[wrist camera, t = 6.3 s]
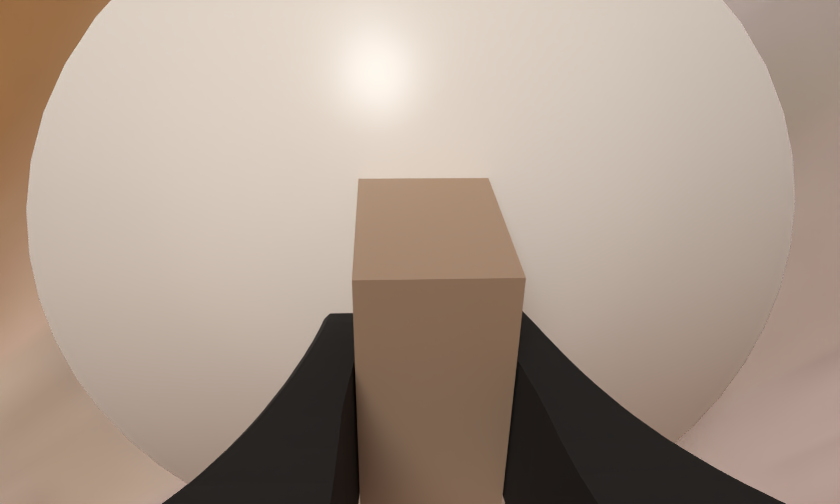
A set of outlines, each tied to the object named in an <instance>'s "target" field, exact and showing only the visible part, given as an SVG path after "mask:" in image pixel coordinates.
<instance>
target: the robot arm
mask: <svg viewBox="0 0 840 504" xmlns="http://www.w3.org/2000/svg"><path fill="white" fill-rule="evenodd" d="M359 496H360V485H359V458H358V432H357V405H356V379H355V352H354V326H353V313H330V314H329V315H328V316H327V317H326V318H324V320H323V322H322V325H321V327H320V329H319V331H318V332H317V334H316V336H315V338H314V340H313V341H312V343H311V345H310V346H309V348H308V350H307V351H306V353H305V355H304V356H303V358H302V359H301V360H300V362H299V363H298V365H297V366H296V368H295V369H294V371H293V372H292V374H291V375H290V377H289V378H288V379H287V381H286V382H285V384H284V385H283V386H282V387H281V389H280V390H279V391H278V392H277V394H276V395H275V396H274V397H273V399H272V400H271V401H270V403H269V404H268V405H267V406H266V408H265V409H264V410H263V411H262V412H261V414H260V415H259V416H258V417H257V418H256V419H255V420H254V422H253V423H252V424H251V425H250V426H249V427H248V428H247V429H246V430H245V431H244V432H243V433H242V434H241V435H240V437H239V438H238V439H237V440H236V441H235V442H234V443H233V444H232V445H231V446H230V447H229V448H228V449H227V450H226V451H224V452H223V453H222V454H221V455H220V456H219V457H218V458H217V459H216V460H215V461H214V462H212V463H211V464H210V465H209V466H208V467H207V468H206V469H205V470H204V471H203V472H201V473H200V474H199V475H198V476H197V477H196V478H194V479H193V480H192V481H191V482H190V483H188V484H187V485H186V486H185V487H184V488H182V489H181V490H180V491H178V492H177V493H176V494H174V495H173V496H172V497H170V498H169V499H168V500H166V501H165V502H164V503H162V504H359ZM503 498H504V502H505V504H785V503H783V502H781V501H779V500H777V499H775V498H773V497H771V496H769V495H767V494H765V493H763V492H761V491H759V490H757V489H755V488H752V487H750V486H748V485H746V484H744V483H742V482H740V481H739V480H737V479H735V478H733V477H731V476H729V475H727V474H725V473H724V472H722V471H720V470H718V469H716V468H714V467H713V466H711V465H709V464H708V463H706V462H704V461H703V460H701V459H699V458H698V457H696V456H694V455H693V454H691V453H689V452H687V451H686V450H684V449H682V448H681V447H679V446H678V445H676V444H675V443H673V442H672V441H670V440H668V439H667V438H665V437H664V436H662V435H661V434H660V433H658V432H657V431H655V430H654V429H652V428H651V427H650V426H648V425H647V424H645V423H644V422H643V421H641V420H640V419H638V418H637V417H636V416H634V415H633V414H632V413H630V412H629V411H628V410H626V409H625V408H624V407H622V406H621V405H620V404H619V403H618V402H616V401H615V400H614V399H613V398H612V397H610V396H609V395H608V394H607V393H606V392H604V391H603V390H602V389H601V388H600V387H599V386H597V385H596V384H595V383H594V382H593V381H592V380H591V379H589V378H588V377H587V376H586V375H585V374H584V373H583V372H582V371H581V370H580V369H579V368H578V367H577V366H576V365H575V364H574V363H572V362H571V361H570V360H569V359H568V358H567V357H566V356H565V355H564V354H563V353H562V352H561V351H560V350H559V349H558V348H557V346H556V345H555V344H554V343H553V342H552V341H551V340H550V339H549V338H548V337H547V336H546V335H545V334H544V333H543V332H542V331H541V330H540V329H539V328H538V326H537V325H536V324H535V323H534V322H533V321H532V320H531V319H530V318H529V317H528V316H527V315H526V314H525V313H524V312H523V311H522V319H521V329H520V338H519V347H518V356H517V366H516V375H515V384H514V393H513V403H512V412H511V421H510V431H509V440H508V449H507V458H506V468H505V477H504V486H503Z"/></svg>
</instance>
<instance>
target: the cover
mask: <svg viewBox="0 0 840 504" xmlns="http://www.w3.org/2000/svg"><path fill="white" fill-rule="evenodd" d="M794 208H795V191H794V170H793V156H792V151H791V146H790V141H789V136H788V131H787V126H786V121H785V117H784V112H783V109H782V107H781V104H780V101H779V99H778V96H777V93H776V91H775V88H774V85H773V83H772V80H771V77H770V75H769V72H768V69H767V67H766V65H765V63H764V61H763V60H762V58H761V56H760V55H759V53H758V51H757V49H756V48H755V46H754V44H753V42H752V41H751V39H750V37H749V35H748V34H747V32H746V30H745V29H744V27H743V25H742V23H741V22H740V21H739V19H738V18H737V17H736V16H735V14H734V13H733V12H732V11H731V10H730V8H729V7H728V6H727V5H726V3H725V2H724V1H723V0H111V1H110V2H109V3H108V4H107V6H106V7H105V8H104V9H103V10H102V11H101V12H100V13H99V14H98V15H97V16H96V18H95V19H94V21H93V22H92V24H91V25H90V27H89V28H88V30H87V31H86V33H85V34H84V36H83V37H82V39H81V40H80V42H79V43H78V45H77V47H76V48H75V50H74V51H73V53H72V54H71V56H70V57H69V59H68V60H67V62H66V63H65V65H64V67H63V70H62V72H61V74H60V76H59V79H58V81H57V83H56V85H55V88H54V90H53V92H52V94H51V97H50V99H49V101H48V103H47V106H46V108H45V110H44V113H43V116H42V120H41V124H40V128H39V132H38V136H37V139H36V143H35V147H34V151H33V155H32V159H31V165H30V176H29V187H28V197H27V208H26V211H27V226H28V241H29V256H30V260H31V264H32V269H33V273H34V278H35V282H36V287H37V291H38V296H39V300H40V302H41V305H42V308H43V310H44V313H45V315H46V318H47V321H48V323H49V326H50V328H51V331H52V334H53V336H54V339H55V341H56V343H57V344H58V346H59V348H60V350H61V352H62V353H63V355H64V357H65V359H66V361H67V362H68V364H69V366H70V368H71V370H72V371H73V373H74V375H75V377H76V378H77V380H78V381H79V382H80V384H81V385H82V386H83V388H84V389H85V390H86V392H87V393H88V394H89V396H90V397H91V398H92V400H93V401H94V402H95V404H96V405H97V406H98V408H99V409H100V410H101V412H102V413H103V414H104V415H105V416H106V417H107V418H108V419H109V420H110V421H111V422H112V423H113V424H114V425H115V426H116V427H117V428H118V429H119V430H120V431H121V432H122V433H123V435H124V436H125V437H126V438H127V439H128V440H129V441H131V442H132V443H133V444H134V445H135V446H137V447H138V448H139V449H140V450H142V451H143V452H144V453H145V454H146V455H148V456H149V457H150V458H151V459H152V460H154V461H155V462H156V463H157V464H158V465H160V466H161V467H163V468H164V469H166V470H167V471H169V472H170V473H172V474H173V475H175V476H177V477H178V478H180V479H181V480H183V481H184V482H186V483H187V484H188V483H190V482H191V481H192V480H193V479H194V478H196V477H197V476H198V475H199V474H200V473H201V472H203V471H204V470H205V469H206V468H207V467H208V466H209V465H210V464H211V463H212V462H214V461H215V460H216V459H217V458H218V457H219V456H220V455H221V454H222V453H223V452H224V451H226V450H227V449H228V448H229V447H230V446H231V445H232V444H233V443H234V442H235V441H236V440H237V439H238V438H239V437H240V435H241V434H242V433H243V432H244V431H245V430H246V429H247V428H248V427H249V426H250V425H251V424H252V423H253V422H254V420H255V419H256V418H257V417H258V416H259V415H260V414H261V412H262V411H263V410H264V409H265V408H266V406H267V405H268V404H269V403H270V401H271V400H272V399H273V397H274V396H275V395H276V394H277V392H278V391H279V390H280V389H281V387H282V386H283V385H284V384H285V382H286V381H287V379H288V378H289V377H290V375H291V374H292V372H293V371H294V369H295V368H296V366H297V365H298V363H299V362H300V360H301V359H302V358H303V356H304V355H305V353H306V351H307V350H308V348H309V346H310V345H311V343H312V341H313V340H314V338H315V336H316V334H317V332H318V331H319V329H320V327H321V325H322V322H323V320H324V318H326V317H327V316H328V315H329V314H330V313H353V326H354V352H355V379H356V405H357V432H358V458H359V485H360V496H359V504H505V502H504V498H503V486H504V477H505V468H506V458H507V449H508V440H509V431H510V421H511V412H512V403H513V393H514V384H515V375H516V366H517V356H518V347H519V338H520V329H521V319H522V311H523V312H524V313H525V314H526V315H527V316H528V317H529V318H530V319H531V320H532V321H533V322H534V323H535V324H536V325H537V326H538V328H539V329H540V330H541V331H542V332H543V333H544V334H545V335H546V336H547V337H548V338H549V339H550V340H551V341H552V342H553V343H554V344H555V345H556V346H557V348H558V349H559V350H560V351H561V352H562V353H563V354H564V355H565V356H566V357H567V358H568V359H569V360H570V361H571V362H572V363H574V364H575V365H576V366H577V367H578V368H579V369H580V370H581V371H582V372H583V373H584V374H585V375H586V376H587V377H588V378H589V379H591V380H592V381H593V382H594V383H595V384H596V385H597V386H599V387H600V388H601V389H602V390H603V391H604V392H606V393H607V394H608V395H609V396H610V397H612V398H613V399H614V400H615V401H616V402H618V403H619V404H620V405H621V406H622V407H624V408H625V409H626V410H628V411H629V412H630V413H632V414H633V415H634V416H636V417H637V418H638V419H640V420H641V421H643V422H644V423H645V424H647V425H648V426H650V427H651V428H652V429H654V430H655V431H657V432H658V433H660V434H661V435H662V436H664V437H665V438H667V439H668V440H670V441H672V442H673V443H675V442H676V441H677V440H678V439H679V438H680V437H681V436H682V435H684V434H685V433H686V432H687V431H688V430H689V429H690V428H691V427H693V426H694V425H695V424H696V423H697V422H698V420H699V419H700V418H701V417H702V416H703V415H704V414H705V413H706V412H707V410H708V409H709V408H710V407H711V406H712V405H713V404H714V403H715V402H716V401H717V399H718V398H719V397H720V396H721V395H722V394H723V392H724V391H725V390H726V388H727V387H728V385H729V384H730V383H731V381H732V380H733V378H734V377H735V376H736V374H737V373H738V371H739V370H740V369H741V367H742V366H743V365H744V363H745V362H746V360H747V358H748V356H749V354H750V353H751V351H752V349H753V347H754V345H755V343H756V342H757V340H758V338H759V336H760V334H761V333H762V331H763V329H764V327H765V325H766V322H767V320H768V317H769V315H770V312H771V310H772V307H773V305H774V302H775V300H776V297H777V295H778V292H779V290H780V287H781V283H782V279H783V275H784V271H785V267H786V263H787V259H788V255H789V251H790V247H791V238H792V228H793V218H794Z"/></svg>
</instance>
